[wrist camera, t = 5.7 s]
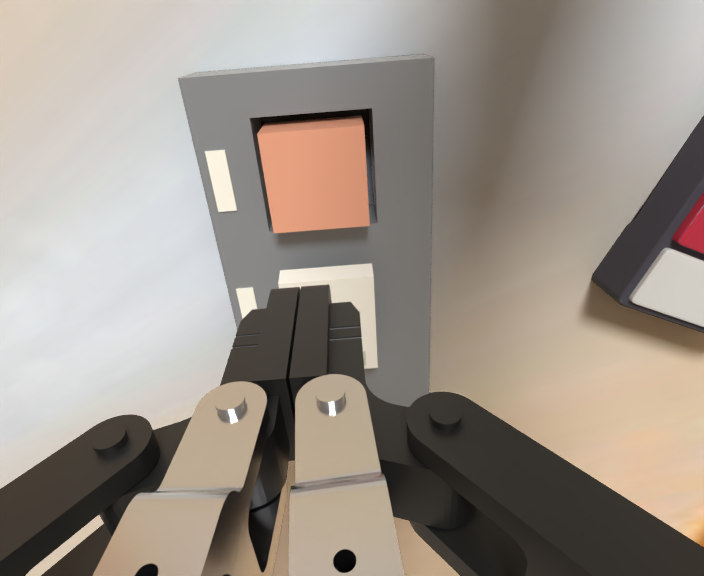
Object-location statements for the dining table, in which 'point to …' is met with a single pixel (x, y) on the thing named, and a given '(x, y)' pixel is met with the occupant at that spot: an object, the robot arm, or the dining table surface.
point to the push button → (315, 173)
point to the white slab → (344, 296)
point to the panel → (341, 243)
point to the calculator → (664, 246)
